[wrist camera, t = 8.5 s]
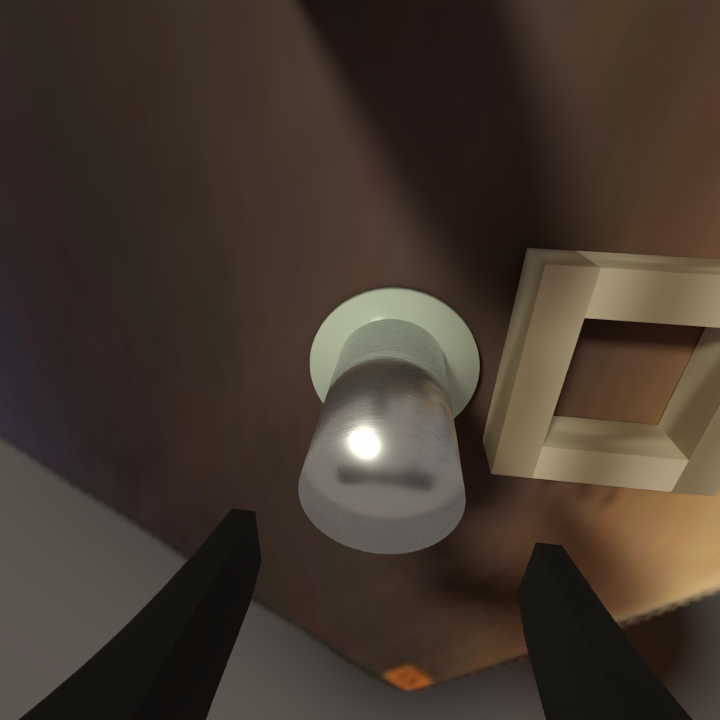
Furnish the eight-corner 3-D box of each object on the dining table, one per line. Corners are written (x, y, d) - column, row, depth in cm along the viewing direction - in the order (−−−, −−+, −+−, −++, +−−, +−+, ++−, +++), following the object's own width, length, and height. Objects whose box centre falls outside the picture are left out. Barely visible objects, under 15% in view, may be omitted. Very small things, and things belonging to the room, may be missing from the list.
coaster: (492, 293, 18) (495, 297, 17) (463, 437, 21) (464, 445, 21) (310, 280, 18) (307, 284, 18) (313, 423, 22) (311, 430, 22)
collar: (790, 263, 16) (850, 283, 14) (682, 458, 21) (715, 496, 18) (527, 247, 17) (545, 264, 14) (482, 439, 21) (491, 474, 19)
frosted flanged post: (452, 323, 18) (480, 444, 11) (436, 415, 20) (451, 562, 13) (339, 314, 18) (296, 424, 11) (337, 405, 21) (300, 543, 14)
